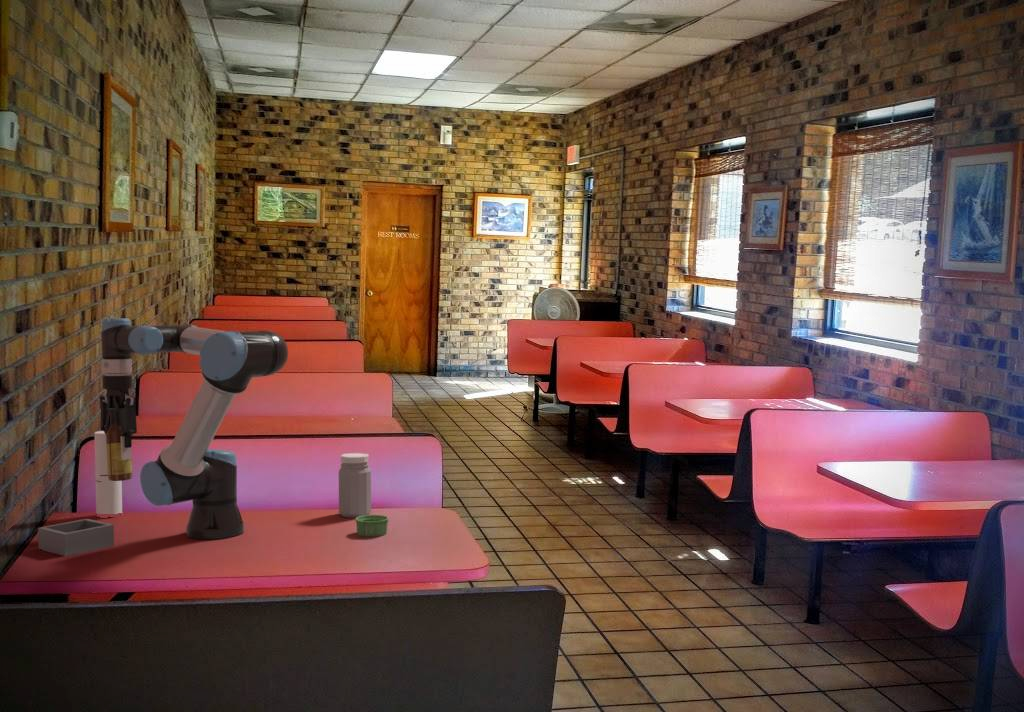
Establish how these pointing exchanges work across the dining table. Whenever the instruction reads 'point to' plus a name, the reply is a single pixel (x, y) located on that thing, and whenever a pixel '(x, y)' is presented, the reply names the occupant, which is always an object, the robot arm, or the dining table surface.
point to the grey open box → (75, 537)
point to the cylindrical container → (105, 480)
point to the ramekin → (372, 525)
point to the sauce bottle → (116, 451)
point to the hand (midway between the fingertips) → (119, 458)
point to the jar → (354, 485)
